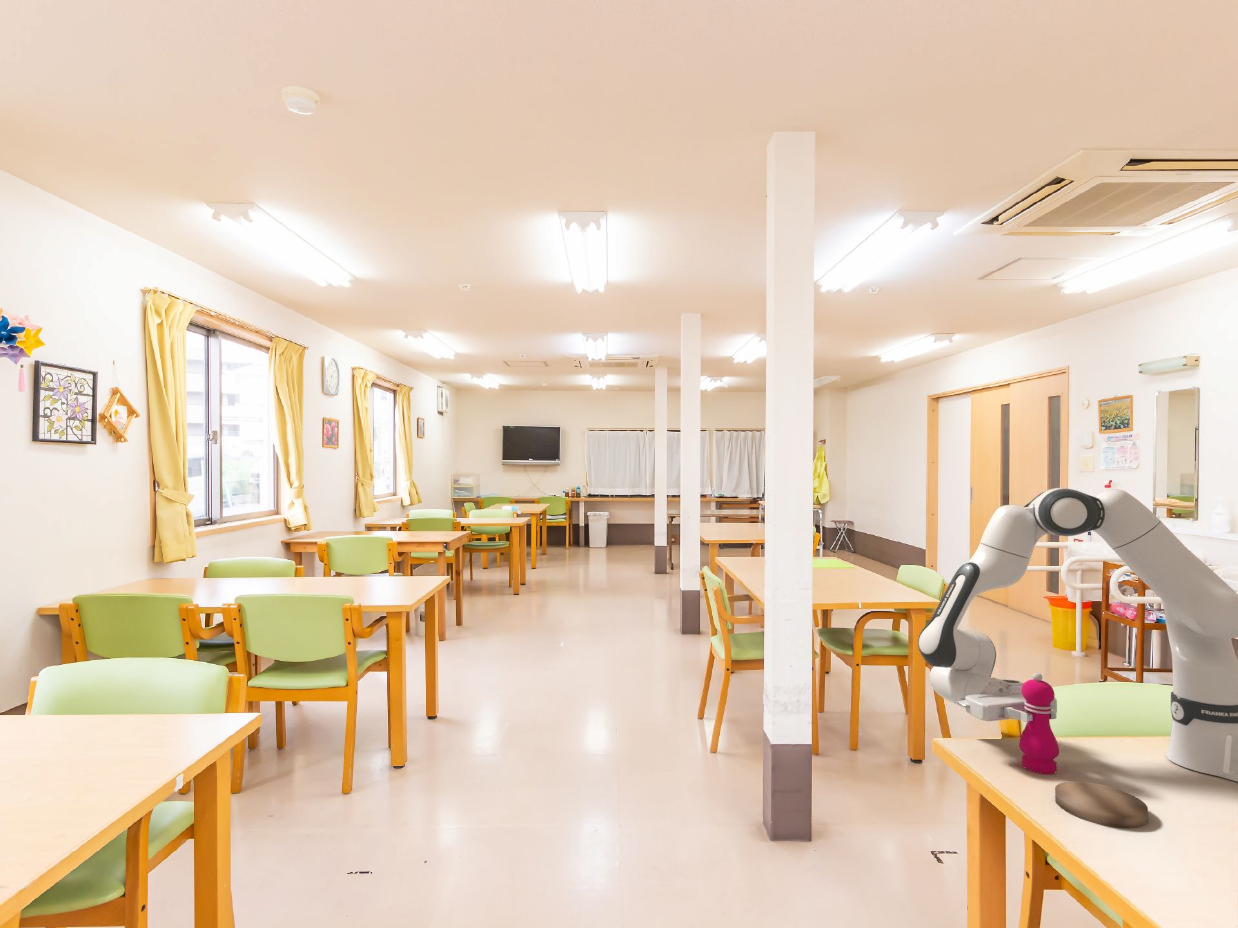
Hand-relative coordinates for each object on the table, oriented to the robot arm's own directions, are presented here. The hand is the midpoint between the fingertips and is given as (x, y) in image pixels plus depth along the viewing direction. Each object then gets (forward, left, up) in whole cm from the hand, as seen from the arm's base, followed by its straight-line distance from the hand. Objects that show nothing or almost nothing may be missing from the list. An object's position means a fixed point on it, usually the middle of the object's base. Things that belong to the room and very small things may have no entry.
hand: (1041, 716), depth 143 cm
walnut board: (-2, +17, -11) cm, 20 cm away
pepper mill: (0, -1, -11) cm, 11 cm away
